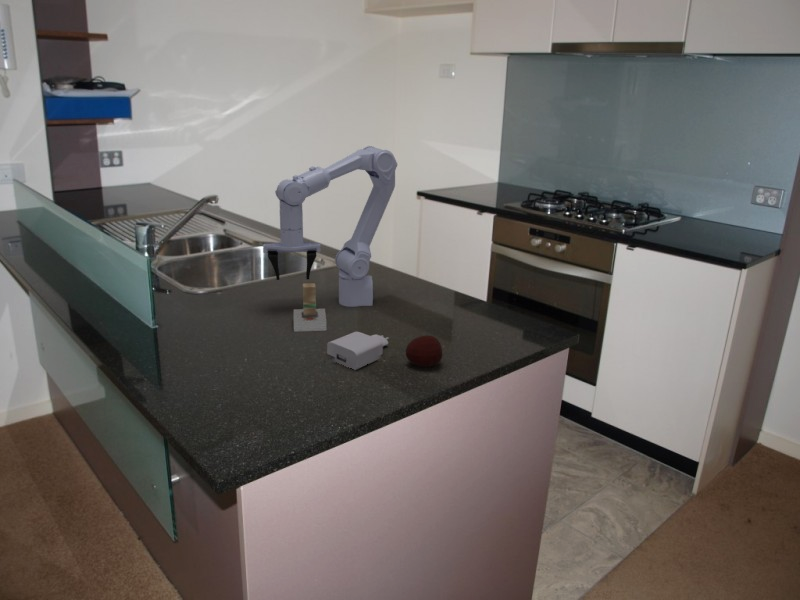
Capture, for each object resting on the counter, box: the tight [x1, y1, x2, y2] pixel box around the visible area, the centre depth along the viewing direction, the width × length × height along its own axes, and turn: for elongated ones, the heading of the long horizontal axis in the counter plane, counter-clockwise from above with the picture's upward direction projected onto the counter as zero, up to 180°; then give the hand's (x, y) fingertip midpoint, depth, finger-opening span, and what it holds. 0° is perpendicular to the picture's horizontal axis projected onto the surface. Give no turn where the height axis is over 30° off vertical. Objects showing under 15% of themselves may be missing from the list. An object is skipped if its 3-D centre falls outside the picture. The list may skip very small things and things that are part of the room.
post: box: [302, 282, 317, 315], centre depth 159 cm, size 3×3×7 cm
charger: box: [326, 331, 390, 371], centre depth 148 cm, size 5×9×15 cm
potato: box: [405, 335, 443, 368], centre depth 144 cm, size 7×8×7 cm
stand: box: [293, 308, 327, 333], centre depth 162 cm, size 12×12×4 cm
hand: (292, 278), depth 167 cm, fingers open, 7 cm apart
